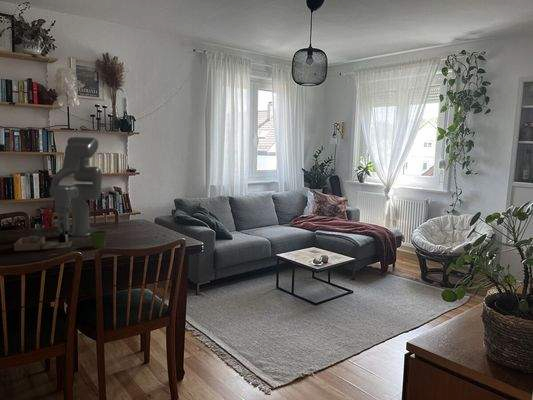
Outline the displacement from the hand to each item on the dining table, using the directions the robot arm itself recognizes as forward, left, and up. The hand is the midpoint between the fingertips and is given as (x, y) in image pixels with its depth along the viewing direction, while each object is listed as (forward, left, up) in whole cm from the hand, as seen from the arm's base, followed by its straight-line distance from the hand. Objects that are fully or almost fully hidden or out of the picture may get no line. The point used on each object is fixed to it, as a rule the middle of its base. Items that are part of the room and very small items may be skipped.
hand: (63, 240), depth 221 cm
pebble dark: (+15, +1, -3) cm, 15 cm away
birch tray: (+3, 0, -3) cm, 5 cm away
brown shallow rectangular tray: (+16, 0, -3) cm, 17 cm away
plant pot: (-18, +7, -4) cm, 20 cm away
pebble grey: (0, 0, -3) cm, 3 cm away
